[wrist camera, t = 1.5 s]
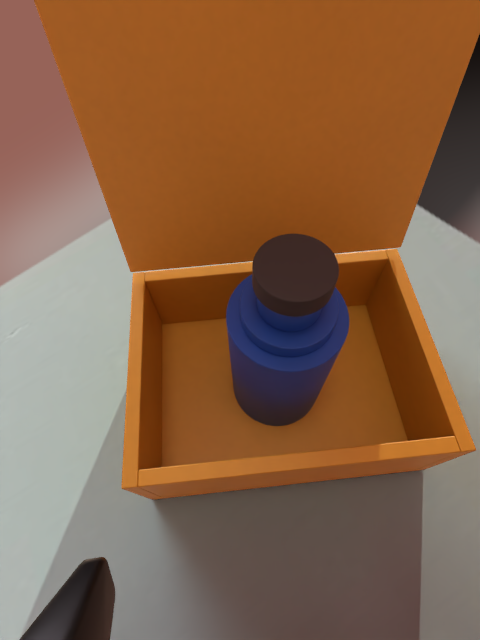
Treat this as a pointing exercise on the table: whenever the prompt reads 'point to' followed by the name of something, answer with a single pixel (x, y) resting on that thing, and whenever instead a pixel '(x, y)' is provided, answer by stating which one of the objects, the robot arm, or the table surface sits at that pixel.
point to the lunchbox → (310, 431)
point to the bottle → (285, 328)
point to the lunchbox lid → (259, 117)
